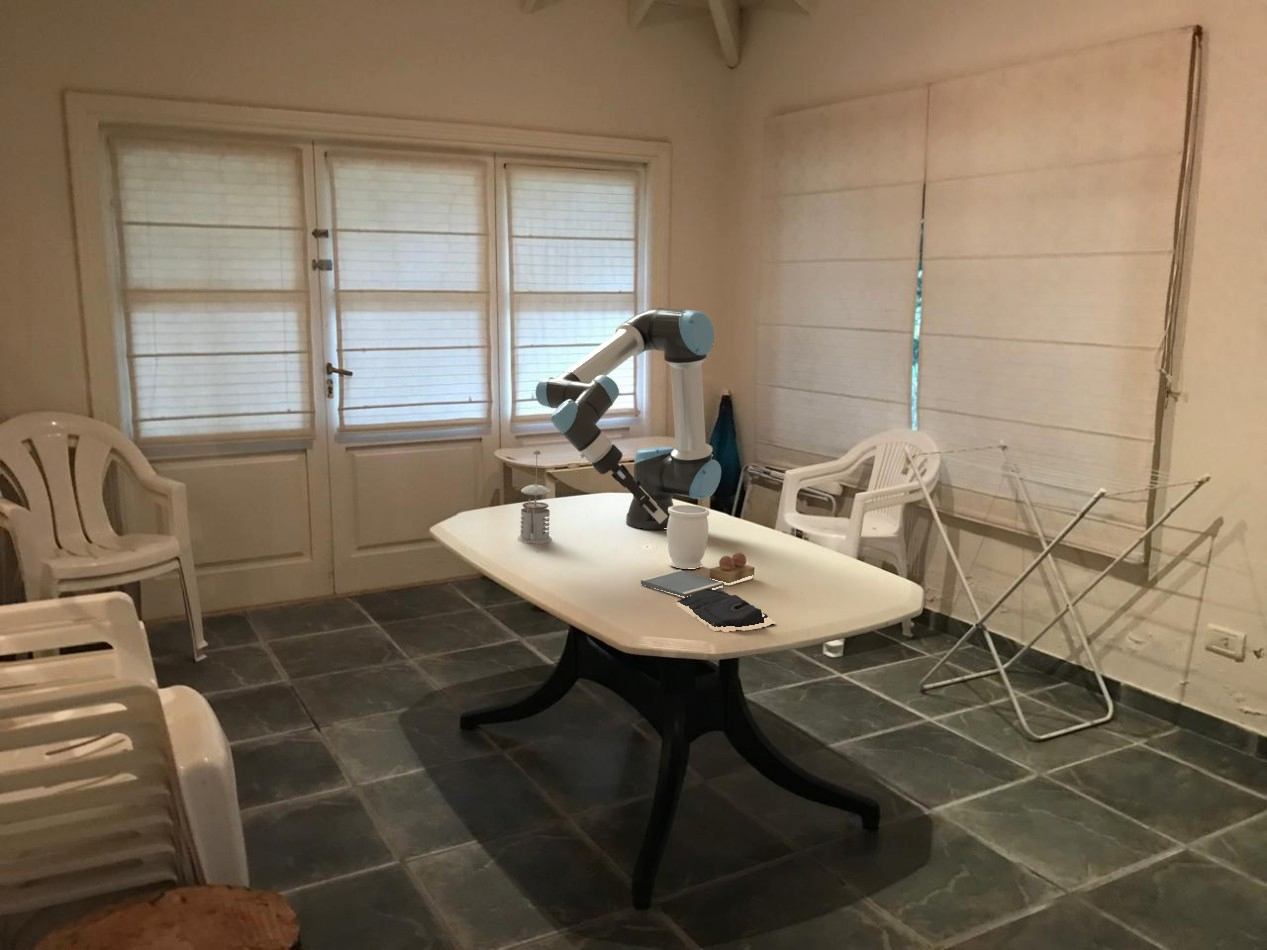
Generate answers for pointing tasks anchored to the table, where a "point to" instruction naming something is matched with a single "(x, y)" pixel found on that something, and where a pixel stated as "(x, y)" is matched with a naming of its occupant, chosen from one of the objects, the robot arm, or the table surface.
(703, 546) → the jar
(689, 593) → the slate card
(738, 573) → the ball rack
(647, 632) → the table surface
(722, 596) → the dark flat piece
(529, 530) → the french press
